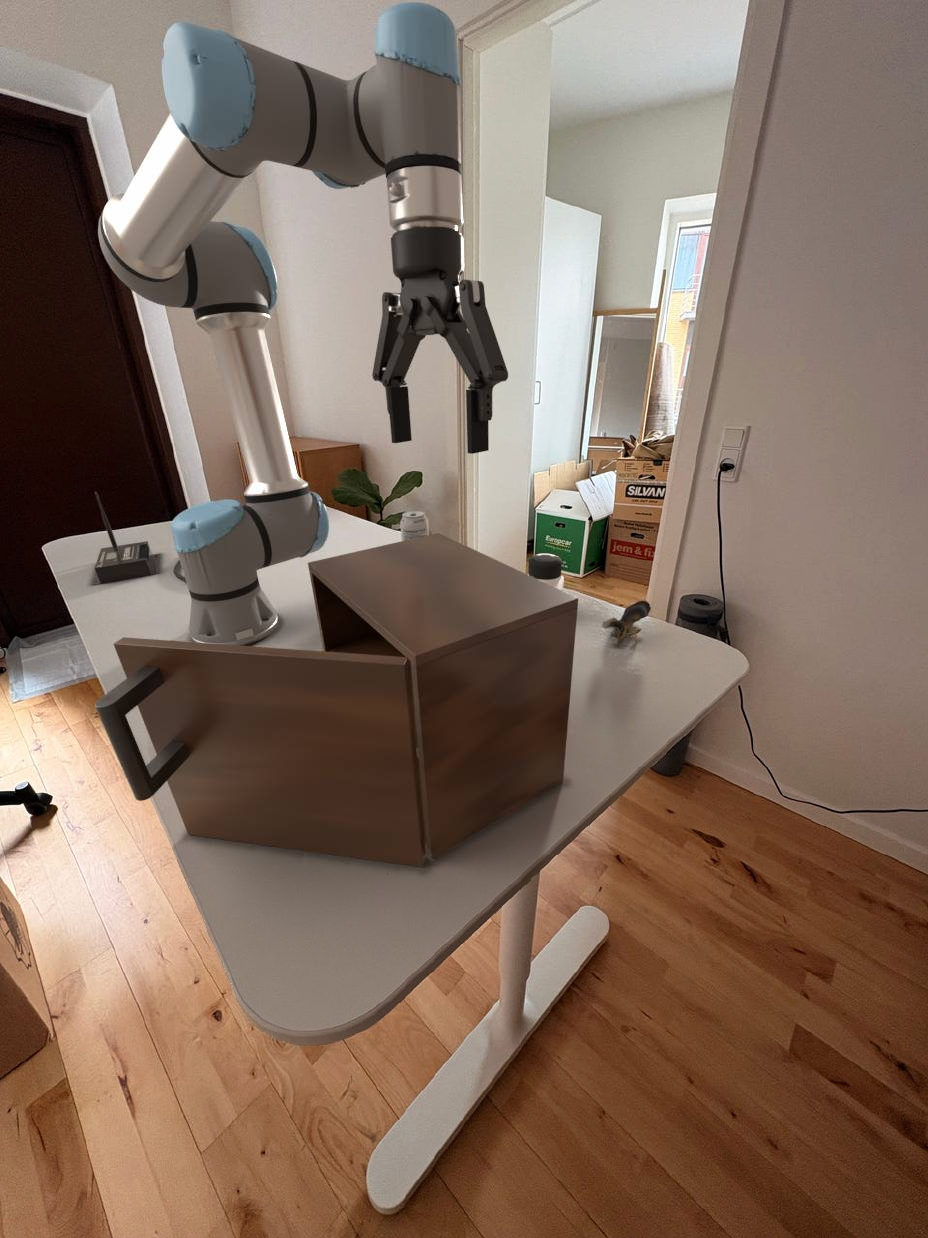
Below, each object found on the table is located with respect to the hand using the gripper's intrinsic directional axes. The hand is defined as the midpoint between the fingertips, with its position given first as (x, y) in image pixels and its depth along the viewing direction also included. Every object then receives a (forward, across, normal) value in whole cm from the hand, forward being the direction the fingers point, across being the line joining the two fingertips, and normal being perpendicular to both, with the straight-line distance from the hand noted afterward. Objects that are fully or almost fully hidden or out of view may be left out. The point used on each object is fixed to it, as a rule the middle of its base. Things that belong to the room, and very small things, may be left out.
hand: (437, 446), depth 63 cm
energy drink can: (+35, -36, +25) cm, 56 cm away
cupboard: (+35, +10, -11) cm, 38 cm away
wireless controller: (+35, -98, -18) cm, 105 cm away
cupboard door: (+35, +11, -33) cm, 49 cm away
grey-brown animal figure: (+36, +12, +32) cm, 49 cm away
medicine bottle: (+35, -4, +29) cm, 46 cm away
